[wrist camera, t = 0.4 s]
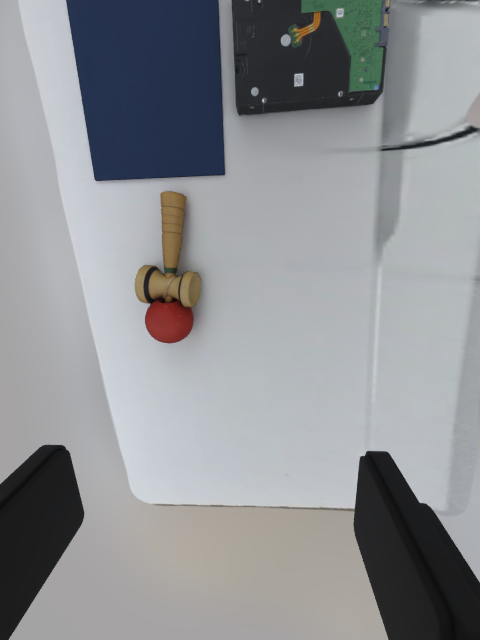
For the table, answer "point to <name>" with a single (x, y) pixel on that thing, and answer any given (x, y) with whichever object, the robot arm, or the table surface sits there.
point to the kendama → (169, 280)
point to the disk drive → (308, 53)
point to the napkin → (150, 86)
